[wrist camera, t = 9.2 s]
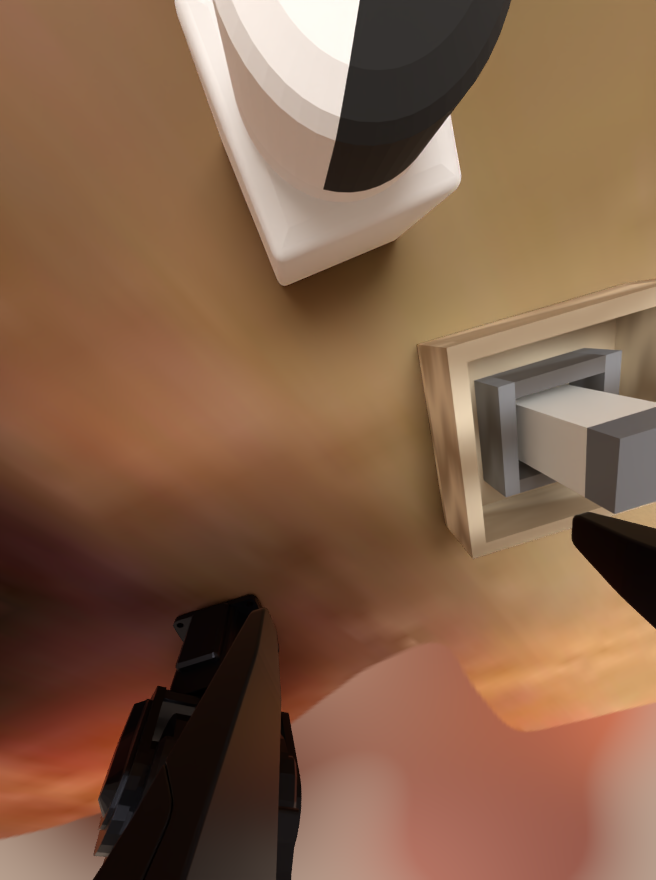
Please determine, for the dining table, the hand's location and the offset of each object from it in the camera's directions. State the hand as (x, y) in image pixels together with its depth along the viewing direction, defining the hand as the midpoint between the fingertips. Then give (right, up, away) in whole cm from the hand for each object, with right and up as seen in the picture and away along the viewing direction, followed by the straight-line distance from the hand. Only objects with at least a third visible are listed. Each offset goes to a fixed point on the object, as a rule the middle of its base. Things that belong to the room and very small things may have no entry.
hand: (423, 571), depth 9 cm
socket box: (+11, +5, +13) cm, 18 cm away
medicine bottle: (-3, +17, +8) cm, 19 cm away
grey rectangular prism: (+11, +5, +13) cm, 18 cm away
